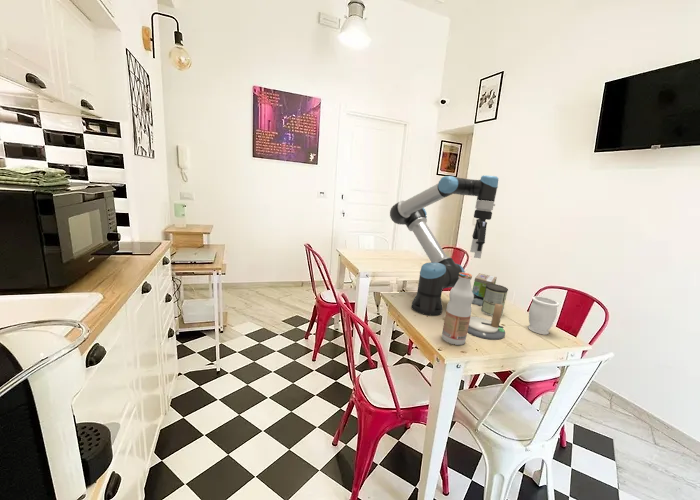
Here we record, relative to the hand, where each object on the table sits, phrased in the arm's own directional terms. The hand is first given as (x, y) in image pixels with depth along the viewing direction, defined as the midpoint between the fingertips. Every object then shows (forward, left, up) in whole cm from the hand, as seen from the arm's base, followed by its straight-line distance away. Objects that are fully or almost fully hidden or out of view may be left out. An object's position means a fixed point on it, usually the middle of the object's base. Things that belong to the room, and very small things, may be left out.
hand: (475, 255), depth 146 cm
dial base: (+6, -13, -31) cm, 34 cm away
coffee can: (+15, +11, -31) cm, 36 cm away
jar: (+33, -2, -31) cm, 45 cm away
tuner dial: (+7, -13, -29) cm, 33 cm away
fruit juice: (-7, -30, -31) cm, 44 cm away
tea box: (+12, +26, -31) cm, 42 cm away
